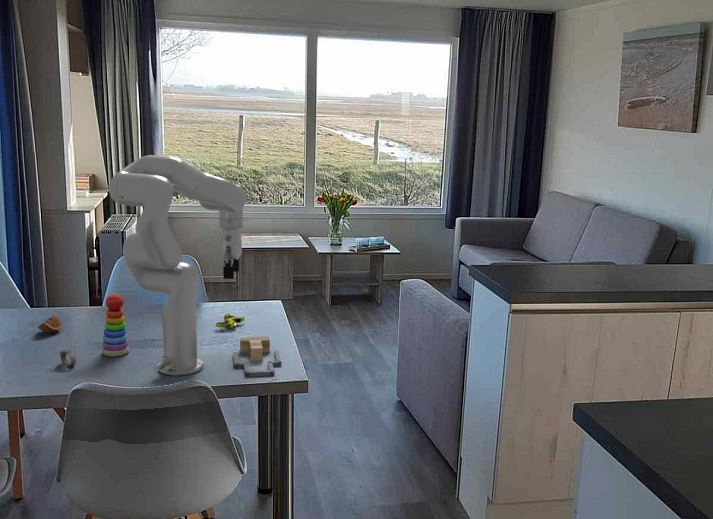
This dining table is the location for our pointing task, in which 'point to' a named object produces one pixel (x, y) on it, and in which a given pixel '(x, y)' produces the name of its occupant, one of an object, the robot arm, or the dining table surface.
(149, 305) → the dining table surface
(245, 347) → the oak t block
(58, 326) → the fruit slice
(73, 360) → the wristwatch
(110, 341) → the stacking toy
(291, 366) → the dining table surface
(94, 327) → the dining table surface
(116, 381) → the dining table surface
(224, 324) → the toy motorcycle
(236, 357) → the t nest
